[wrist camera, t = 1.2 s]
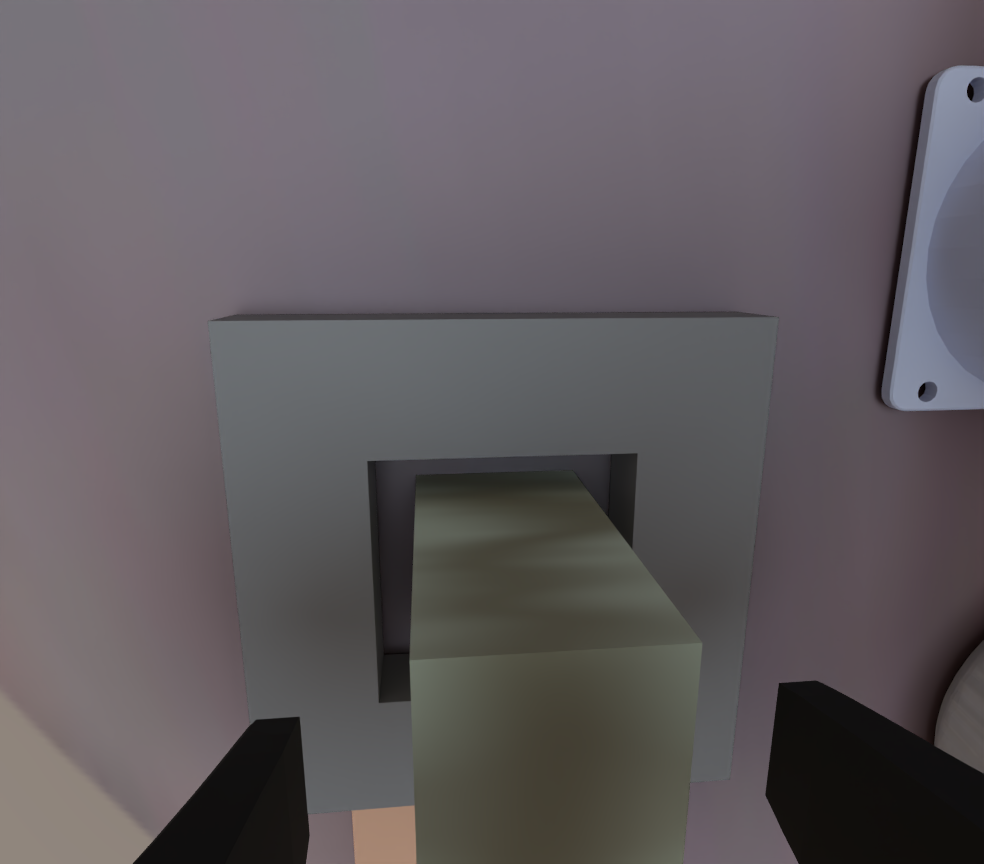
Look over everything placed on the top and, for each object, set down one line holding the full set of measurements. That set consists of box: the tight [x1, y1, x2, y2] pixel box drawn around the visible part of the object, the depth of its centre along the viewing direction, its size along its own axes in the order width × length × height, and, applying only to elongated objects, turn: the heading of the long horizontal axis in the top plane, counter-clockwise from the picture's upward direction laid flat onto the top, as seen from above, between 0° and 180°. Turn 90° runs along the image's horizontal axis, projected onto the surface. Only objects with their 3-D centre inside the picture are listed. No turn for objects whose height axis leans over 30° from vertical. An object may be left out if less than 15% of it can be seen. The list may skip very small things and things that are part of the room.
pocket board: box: [208, 312, 779, 814], centre depth 16 cm, size 12×12×2 cm
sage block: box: [410, 470, 702, 864], centre depth 13 cm, size 4×4×8 cm
